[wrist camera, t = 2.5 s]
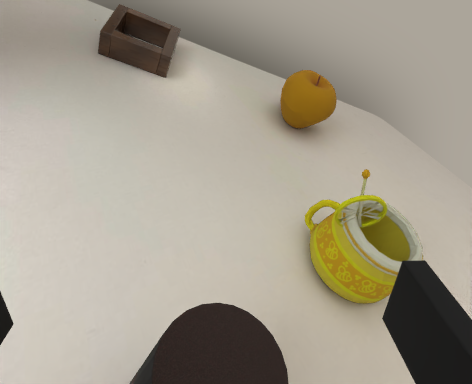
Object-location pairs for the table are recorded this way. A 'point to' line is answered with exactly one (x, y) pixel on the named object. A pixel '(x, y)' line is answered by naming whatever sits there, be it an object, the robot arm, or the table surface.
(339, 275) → the mug
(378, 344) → the table surface
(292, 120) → the apple
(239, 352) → the deodorant
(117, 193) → the table surface
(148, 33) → the frame
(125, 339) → the table surface
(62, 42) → the table surface
